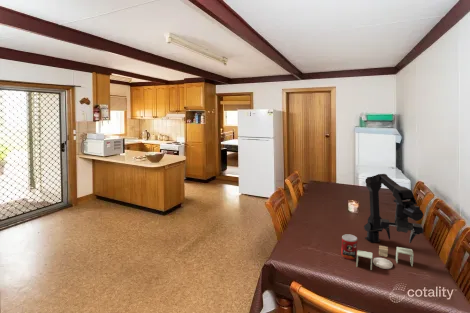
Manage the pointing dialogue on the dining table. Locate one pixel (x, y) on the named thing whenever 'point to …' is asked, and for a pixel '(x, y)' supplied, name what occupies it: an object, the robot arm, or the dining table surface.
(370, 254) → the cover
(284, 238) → the dining table surface
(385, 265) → the saucer
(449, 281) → the dining table surface
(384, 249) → the block
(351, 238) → the canned food
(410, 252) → the cover
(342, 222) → the dining table surface
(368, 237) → the robot arm
